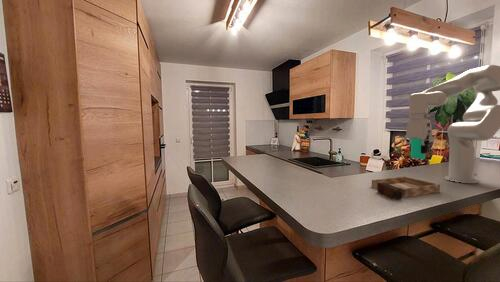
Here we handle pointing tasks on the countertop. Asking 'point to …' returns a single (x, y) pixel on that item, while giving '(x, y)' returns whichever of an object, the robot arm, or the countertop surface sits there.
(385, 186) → the brick
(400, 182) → the tray
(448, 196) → the countertop surface
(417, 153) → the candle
